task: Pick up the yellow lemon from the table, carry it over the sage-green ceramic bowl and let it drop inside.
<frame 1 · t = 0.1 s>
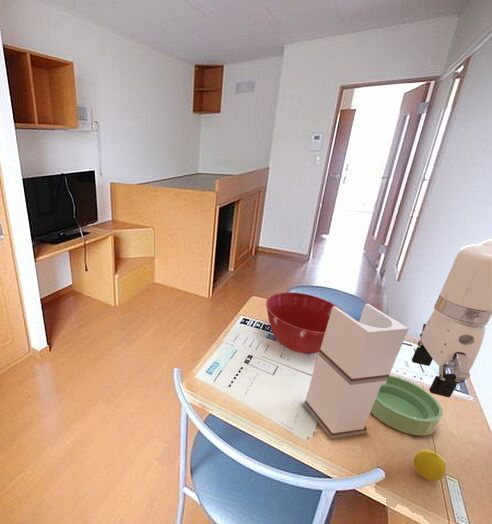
hand: (429, 377, 65), 29 cm above the table, tool pointing down, fingers open, 9 cm apart
green bowl: (395, 410, 92), on the table
lemon: (422, 476, 74), on the table
tall white box: (332, 419, 89), on the table
mixing bowl: (297, 343, 122), on the table
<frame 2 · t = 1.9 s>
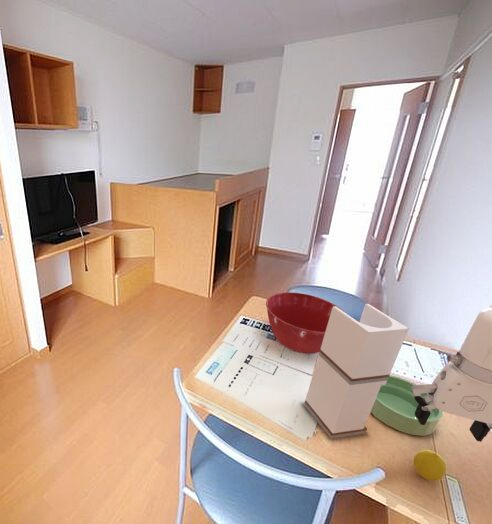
hand: (446, 427, 68), 16 cm above the table, tool pointing down, fingers open, 9 cm apart
nothing on the table moved.
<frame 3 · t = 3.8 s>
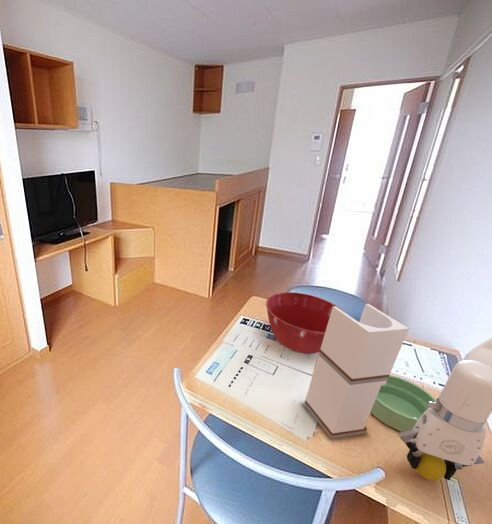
hand: (427, 468, 73), 3 cm above the table, tool pointing down, fingers closed on lemon, 5 cm apart
lemon: (422, 476, 74), on the table, touching gripper
everything else where it was.
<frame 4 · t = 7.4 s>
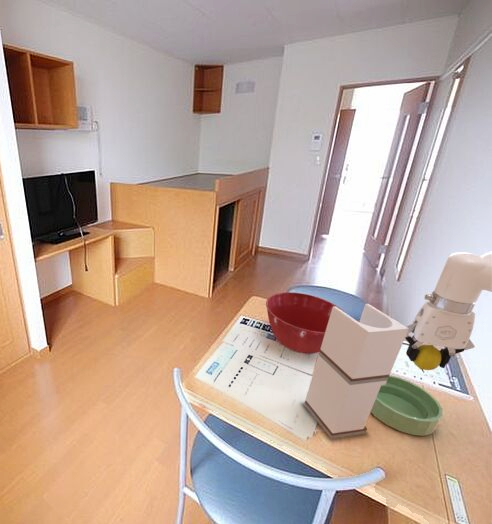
hand: (425, 360, 82), 21 cm above the table, tool pointing down, fingers closed on lemon, 5 cm apart
lemon: (420, 369, 83), point 18 cm above the table, touching gripper
everything else where it was.
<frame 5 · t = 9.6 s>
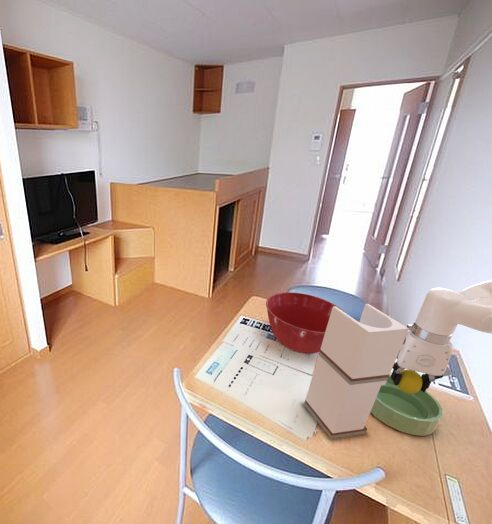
hand: (407, 384, 88), 10 cm above the table, tool pointing down, fingers closed on lemon, 5 cm apart
lemon: (404, 392, 89), point 7 cm above the table, touching gripper
everything else where it was.
when the fingers open (7 cm above the table, at t = 11.0 s): lemon drops 3 cm, resting on green bowl.
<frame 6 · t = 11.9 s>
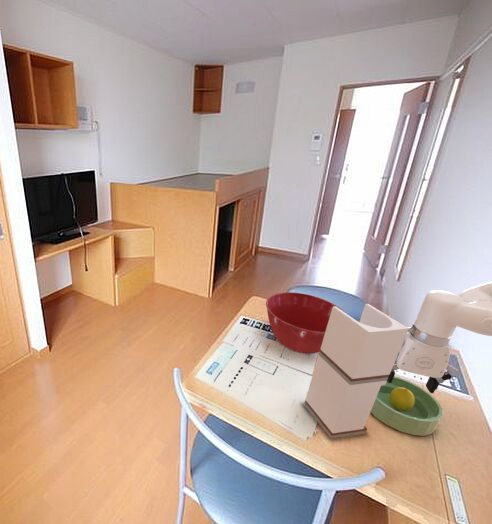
hand: (408, 384, 88), 10 cm above the table, tool pointing down, fingers open, 9 cm apart
lemon: (397, 409, 92), resting on green bowl
everything else where it was.
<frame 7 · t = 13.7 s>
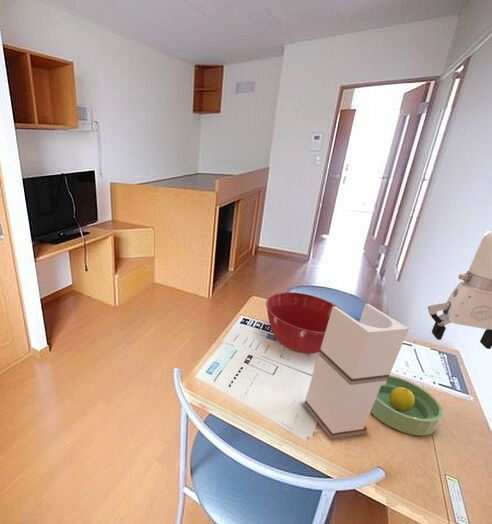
hand: (460, 341, 79), 27 cm above the table, tool pointing down, fingers open, 9 cm apart
nothing on the table moved.
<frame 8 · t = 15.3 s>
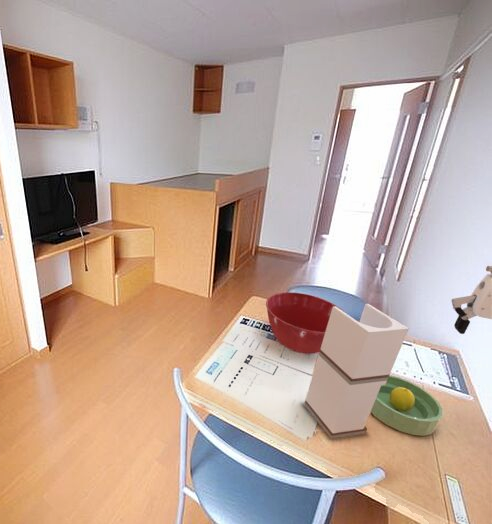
hand: (483, 335, 77), 30 cm above the table, tool pointing down, fingers open, 9 cm apart
nothing on the table moved.
at the end: lemon inside the target area in the green bowl (0.2 cm from its centre), point 0.4 cm above the green bowl's base; the gripper is holding nothing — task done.
